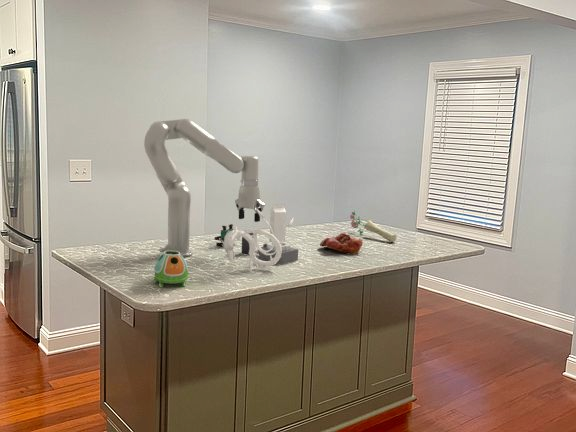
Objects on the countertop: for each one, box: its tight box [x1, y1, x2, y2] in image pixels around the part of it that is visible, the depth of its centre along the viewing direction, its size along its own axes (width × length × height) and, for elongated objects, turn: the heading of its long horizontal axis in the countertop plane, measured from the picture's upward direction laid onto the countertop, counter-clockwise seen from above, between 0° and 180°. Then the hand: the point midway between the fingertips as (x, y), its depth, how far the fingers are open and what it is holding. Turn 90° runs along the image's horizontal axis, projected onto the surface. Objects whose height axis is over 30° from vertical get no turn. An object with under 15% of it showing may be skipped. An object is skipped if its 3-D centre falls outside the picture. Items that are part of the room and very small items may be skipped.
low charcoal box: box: [257, 241, 299, 265], centre depth 255 cm, size 11×14×7 cm
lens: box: [241, 230, 254, 256], centre depth 263 cm, size 5×5×10 cm
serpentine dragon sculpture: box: [221, 209, 295, 273], centre depth 239 cm, size 43×20×25 cm, turn 127°
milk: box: [268, 204, 287, 242], centre depth 273 cm, size 6×6×22 cm
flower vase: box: [350, 210, 398, 243], centre depth 317 cm, size 12×12×35 cm
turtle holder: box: [153, 251, 189, 288], centre depth 212 cm, size 12×18×12 cm
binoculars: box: [214, 223, 236, 247], centre depth 278 cm, size 9×11×10 cm
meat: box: [319, 232, 364, 255], centre depth 279 cm, size 21×21×10 cm
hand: (249, 220), depth 262 cm, fingers open, 9 cm apart
